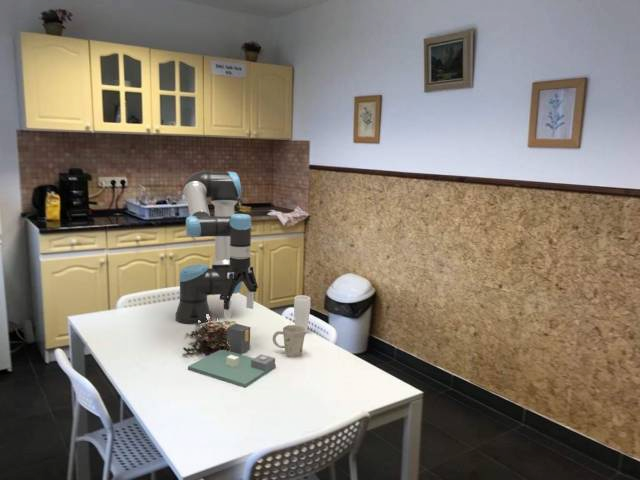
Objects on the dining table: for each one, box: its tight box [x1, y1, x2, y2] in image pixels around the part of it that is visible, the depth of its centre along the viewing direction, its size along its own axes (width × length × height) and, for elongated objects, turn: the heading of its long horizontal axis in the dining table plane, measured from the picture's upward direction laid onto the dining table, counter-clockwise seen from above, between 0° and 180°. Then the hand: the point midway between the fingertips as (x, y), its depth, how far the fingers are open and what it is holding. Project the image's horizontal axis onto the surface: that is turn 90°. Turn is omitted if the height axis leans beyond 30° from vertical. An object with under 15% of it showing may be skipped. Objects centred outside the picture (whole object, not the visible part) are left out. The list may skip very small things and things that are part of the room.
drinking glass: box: [293, 294, 311, 334], centre depth 215 cm, size 7×7×15 cm
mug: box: [271, 324, 306, 358], centre depth 193 cm, size 8×13×10 cm, turn 78°
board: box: [187, 349, 277, 388], centre depth 178 cm, size 24×18×4 cm
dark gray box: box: [226, 323, 251, 355], centre depth 194 cm, size 7×6×9 cm
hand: (239, 312), depth 192 cm, fingers open, 13 cm apart
